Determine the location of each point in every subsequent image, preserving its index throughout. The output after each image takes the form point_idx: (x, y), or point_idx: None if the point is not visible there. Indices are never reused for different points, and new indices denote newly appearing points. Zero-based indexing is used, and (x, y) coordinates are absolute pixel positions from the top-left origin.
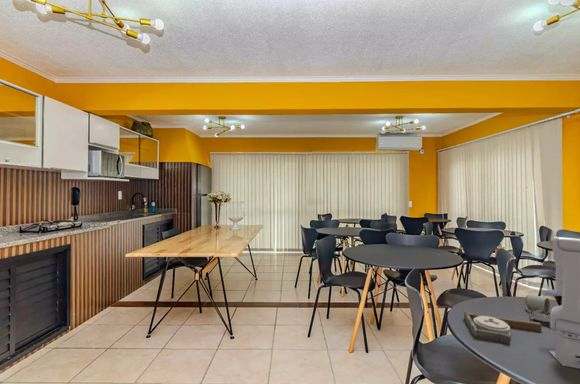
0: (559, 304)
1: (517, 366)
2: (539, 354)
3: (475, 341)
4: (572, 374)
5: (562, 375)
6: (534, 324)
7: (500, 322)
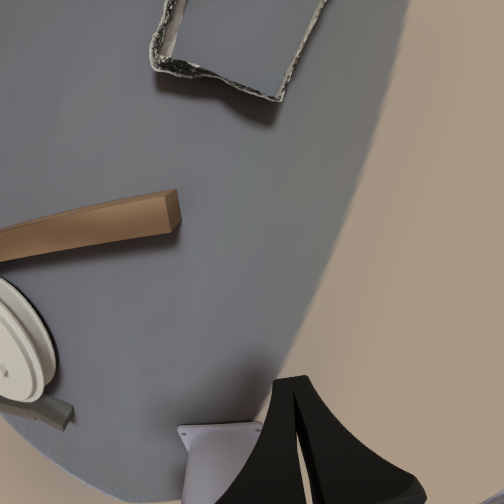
0: (264, 455)
1: (111, 484)
2: (149, 442)
3: None
4: None
5: None
6: (133, 236)
7: (5, 352)
